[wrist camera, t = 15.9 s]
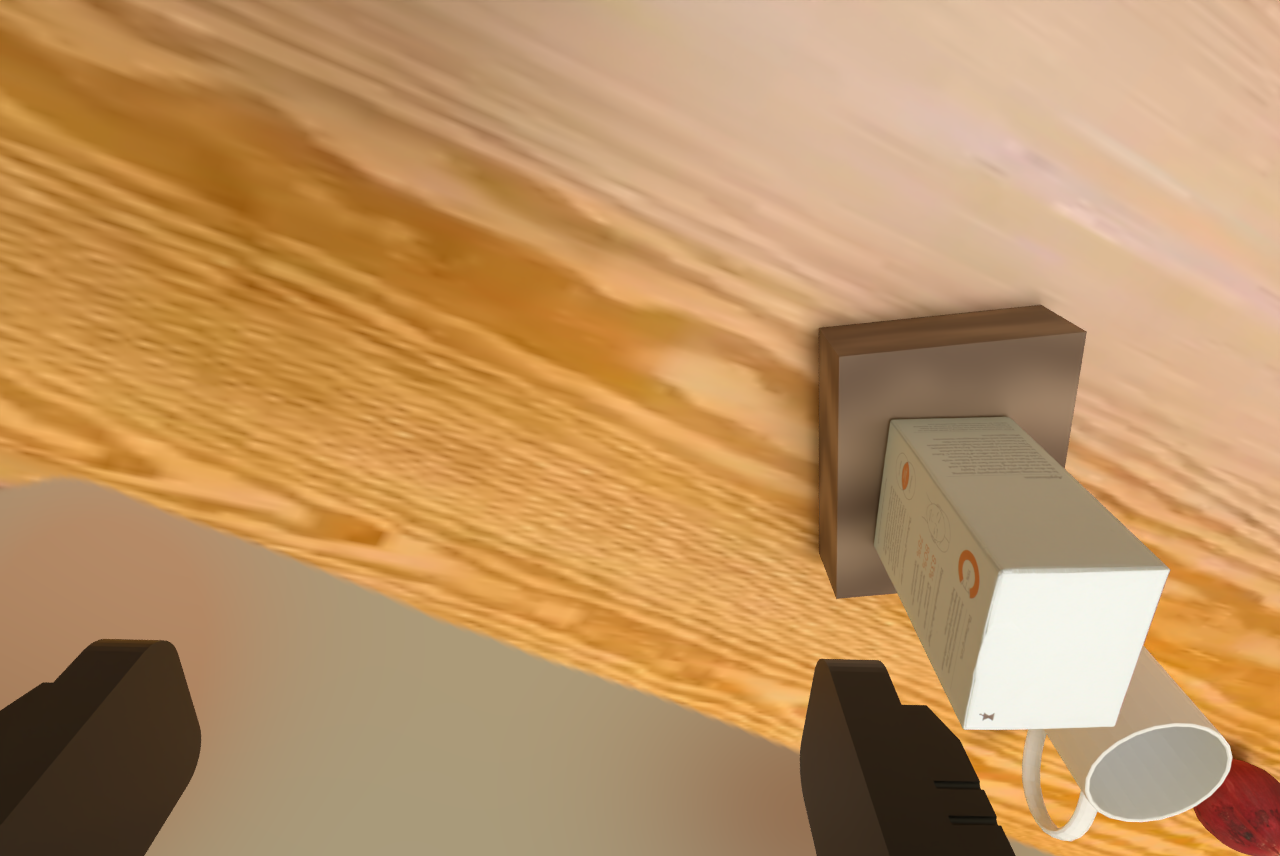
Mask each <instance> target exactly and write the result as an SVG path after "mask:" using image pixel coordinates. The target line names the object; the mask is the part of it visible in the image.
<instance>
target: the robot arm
mask: <svg viewBox="0 0 1280 856" xmlns="http://www.w3.org/2000/svg"><path fill="white" fill-rule="evenodd" d="M200 747H201V730H200V726H199V722H198V719H197V716H196V712H195V709H194V706H193V702H192V699H191V696H190V692H189V689H188V686H187V682H186V679H185V676H184V672H183V669H182V666H181V662H180V659H179V656H178V653H177V650H176V648H175V647H174V645H172V644H171V643H170V642H168V641H162V640H122V639H101V640H98V641H95V642H93V643H92V644H90V645H89V646H88V647H87V648H86V649H85V650H83V652H82V653H81V654H80V655H79V656H78V657H77V658H76V659H75V660H74V661H73V662H72V663H71V664H70V665H69V667H68V668H67V669H66V670H65V671H64V672H63V673H62V674H61V675H60V676H59V677H58V678H57V679H56V680H55V682H54V683H42V684H40V685H39V686H37V687H36V688H34V689H32V690H31V691H29V692H28V693H26V694H25V695H23V696H22V697H20V698H19V699H17V700H16V701H14V702H13V703H11V704H10V705H8V706H7V707H5V708H4V709H2V710H1V711H0V856H144V855H145V854H146V852H147V850H148V848H149V847H150V845H151V844H152V842H153V841H154V839H155V837H156V836H157V834H158V832H159V831H160V829H161V827H162V826H163V824H164V823H165V821H166V820H167V818H168V816H169V815H170V813H171V811H172V810H173V808H174V807H175V805H176V803H177V802H178V800H179V798H180V797H181V795H182V794H183V792H184V790H185V789H186V787H187V785H188V784H189V782H190V780H191V778H192V776H193V774H194V771H195V768H196V765H197V762H198V758H199V754H200ZM800 775H801V785H802V792H803V797H804V801H805V806H806V810H807V815H808V819H809V824H810V828H811V832H812V836H813V840H814V845H815V849H816V854H817V856H1015V854H1014V852H1013V849H1012V847H1011V845H1010V843H1009V841H1008V839H1007V837H1006V835H1005V833H1004V831H1003V829H1002V827H1001V826H998V824H997V821H996V817H997V816H996V814H995V812H994V810H993V808H992V806H991V804H990V802H989V800H988V798H987V795H986V793H985V791H984V790H981V789H980V781H979V779H978V777H977V775H976V773H975V771H974V769H973V766H972V764H971V762H970V760H969V758H968V756H967V754H966V752H965V750H964V748H963V746H962V744H961V742H960V740H959V739H958V738H957V737H956V736H955V735H954V734H953V733H952V732H951V731H950V730H949V728H948V727H947V726H946V725H945V724H944V723H943V722H942V721H941V720H940V719H939V718H938V717H937V716H936V715H935V714H934V713H933V712H932V711H931V710H930V709H929V708H928V707H927V706H926V705H901V702H900V700H899V698H898V695H897V693H896V691H895V688H894V686H893V683H892V681H891V679H890V676H889V674H888V672H887V669H886V667H885V666H884V664H883V663H882V662H881V661H878V660H843V659H820V660H819V661H818V662H817V665H816V667H815V672H814V677H813V682H812V688H811V693H810V698H809V704H808V709H807V714H806V720H805V725H804V730H803V736H802V741H801V749H800Z"/></svg>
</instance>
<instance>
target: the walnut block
mask: <svg viewBox="0 0 1280 856" xmlns="http://www.w3.org/2000/svg"><path fill="white" fill-rule="evenodd" d="M1086 333H1087V332H1086V331H1084V330H1083V329H1081V328H1079V327H1078V326H1076V325H1074V324H1073V323H1071V322H1069V321H1067V320H1066V319H1064V318H1062V317H1061V316H1059V315H1057V314H1056V313H1054V312H1052V311H1051V310H1049V309H1047V308H1045V307H1044V306H1042V305H1037V306H1027V307H1017V308H1008V309H998V310H988V311H979V312H969V313H959V314H949V315H940V316H930V317H920V318H911V319H901V320H891V321H881V322H872V323H862V324H852V325H843V326H833V327H823V328H819V554H820V556H821V559H822V562H823V564H824V567H825V570H826V572H827V575H828V578H829V580H830V583H831V585H832V588H833V591H834V593H835V596H836V599H838V598H849V597H861V596H872V595H883V594H895V593H897V591H896V589H895V587H894V585H893V583H892V581H891V579H890V577H889V575H888V573H887V571H886V569H885V567H884V565H883V563H882V561H881V559H880V557H879V555H878V553H877V551H876V549H875V547H874V539H875V531H876V523H877V515H878V507H879V500H880V492H881V485H882V478H883V470H884V463H885V455H886V448H887V441H888V434H889V427H890V422H891V420H898V419H931V418H981V417H1009V418H1011V419H1012V420H1014V421H1015V422H1016V423H1017V424H1018V425H1019V426H1020V427H1021V428H1022V429H1023V430H1024V431H1025V432H1026V433H1027V434H1028V435H1029V436H1030V437H1032V438H1033V439H1034V440H1035V441H1036V442H1037V443H1038V444H1039V445H1040V446H1041V447H1042V448H1043V449H1044V450H1045V451H1046V452H1047V453H1048V454H1049V455H1051V456H1052V457H1053V458H1054V459H1055V460H1056V461H1057V462H1058V463H1059V464H1060V465H1061V466H1062V467H1063V468H1064V469H1065V463H1066V456H1067V450H1068V444H1069V438H1070V432H1071V425H1072V419H1073V413H1074V407H1075V401H1076V394H1077V388H1078V382H1079V376H1080V370H1081V364H1082V357H1083V351H1084V345H1085V339H1086Z"/></svg>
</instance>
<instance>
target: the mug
mask: <svg viewBox="0 0 1280 856" xmlns="http://www.w3.org/2000/svg"><path fill="white" fill-rule="evenodd" d="M1046 734H1047V735H1048V737H1049V738H1050V740H1051V742H1052V743H1053V745H1054V747H1055V748H1056V750H1057V751H1058V753H1059V755H1060V756H1061V758H1062V760H1063V761H1064V763H1065V764H1066V766H1067V768H1068V769H1069V771H1070V773H1071V774H1072V776H1073V777H1074V779H1075V781H1076V782H1077V784H1078V785H1079V787H1080V789H1081V792H1080V797H1079V800H1078V804H1077V807H1076V809H1075V811H1074V814H1073V815H1072V817H1071V818H1070V820H1069V821H1068V822H1067V823H1066V824H1065V825H1064V826H1063V827H1061V828H1057V826H1056V825H1055V824H1054V823H1053V822H1052V820H1051V818H1050V816H1049V814H1048V812H1047V810H1046V807H1045V804H1044V801H1043V797H1042V791H1041V786H1040V765H1041V756H1042V750H1043V746H1044V741H1045V737H1046ZM1231 762H1232V753H1231V749H1230V745H1229V744H1228V743H1227V741H1226V740H1225V739H1224V737H1223V736H1222V735H1221V734H1220V733H1219V731H1218V730H1217V729H1216V728H1215V727H1214V726H1213V725H1212V723H1211V722H1210V721H1209V720H1208V719H1207V718H1206V717H1205V715H1204V714H1203V713H1202V712H1201V711H1200V710H1199V709H1198V707H1197V706H1196V705H1195V704H1194V703H1193V702H1192V701H1191V699H1190V698H1189V697H1188V696H1187V695H1186V694H1185V693H1184V691H1183V690H1182V689H1181V688H1180V687H1179V686H1178V685H1177V683H1176V682H1175V681H1174V680H1173V679H1172V678H1171V677H1170V675H1169V674H1168V673H1167V672H1166V671H1165V670H1164V669H1163V667H1162V666H1161V665H1160V664H1159V663H1158V662H1157V661H1156V659H1155V658H1154V657H1153V656H1152V655H1151V654H1150V653H1149V651H1148V650H1147V649H1146V648H1145V647H1144V646H1143V648H1142V651H1141V654H1140V656H1139V659H1138V662H1137V665H1136V668H1135V671H1134V674H1133V677H1132V680H1131V682H1130V685H1129V688H1128V691H1127V694H1126V697H1125V700H1124V702H1123V705H1122V708H1121V711H1120V714H1119V717H1118V720H1117V723H1116V725H1115V726H1113V727H1088V728H1054V729H1028V732H1027V736H1026V741H1025V745H1024V752H1023V760H1022V782H1023V788H1024V793H1025V798H1026V800H1027V803H1028V806H1029V809H1030V811H1031V813H1032V815H1033V817H1034V819H1035V821H1036V822H1037V824H1038V825H1039V826H1040V827H1041V829H1042V830H1043V831H1044V832H1045V833H1047V834H1049V835H1050V836H1052V837H1054V838H1057V839H1060V840H1065V841H1072V840H1075V839H1078V838H1080V837H1082V836H1083V835H1084V834H1085V833H1086V832H1087V831H1088V829H1089V827H1090V826H1091V824H1092V823H1093V820H1094V818H1095V816H1096V813H1097V811H1098V812H1100V813H1101V814H1103V815H1105V816H1107V817H1109V818H1113V819H1117V820H1121V821H1128V822H1146V821H1154V820H1161V819H1164V818H1168V817H1171V816H1174V815H1178V814H1180V813H1182V812H1185V811H1187V810H1189V809H1191V808H1193V807H1195V806H1197V805H1198V804H1200V803H1201V802H1203V801H1204V800H1205V799H1207V798H1208V797H1210V796H1211V795H1212V794H1213V793H1214V792H1215V791H1216V790H1217V789H1218V788H1219V787H1220V786H1221V785H1222V783H1223V782H1224V780H1225V778H1226V776H1227V775H1228V773H1229V771H1230V768H1231Z"/></svg>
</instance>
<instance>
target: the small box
mask: <svg viewBox="0 0 1280 856" xmlns="http://www.w3.org/2000/svg"><path fill="white" fill-rule="evenodd" d="M874 547H875V549H876V551H877V553H878V555H879V557H880V559H881V561H882V563H883V565H884V567H885V569H886V571H887V573H888V575H889V577H890V579H891V581H892V583H893V585H894V587H895V589H896V591H897V593H898V595H899V597H900V599H901V601H902V603H903V606H904V608H905V610H906V612H907V614H908V616H909V618H910V620H911V622H912V624H913V627H914V629H915V631H916V633H917V635H918V637H919V639H920V641H921V643H922V645H923V647H924V650H925V652H926V654H927V656H928V658H929V660H930V662H931V664H932V666H933V668H934V670H935V672H936V674H937V676H938V678H939V680H940V682H941V685H942V687H943V689H944V691H945V693H946V695H947V697H948V699H949V701H950V703H951V705H952V707H953V709H954V711H955V713H956V715H957V717H958V719H959V721H960V724H961V726H962V728H963V729H964V730H968V729H975V730H1014V729H1054V728H1088V727H1113V726H1115V725H1116V723H1117V720H1118V717H1119V714H1120V711H1121V708H1122V705H1123V702H1124V700H1125V697H1126V694H1127V691H1128V688H1129V685H1130V682H1131V680H1132V677H1133V674H1134V671H1135V668H1136V665H1137V662H1138V659H1139V656H1140V654H1141V651H1142V648H1143V645H1144V642H1145V639H1146V636H1147V633H1148V630H1149V628H1150V625H1151V622H1152V619H1153V617H1154V614H1155V611H1156V608H1157V605H1158V602H1159V600H1160V597H1161V594H1162V591H1163V588H1164V586H1165V583H1166V580H1167V577H1168V574H1169V572H1170V569H1169V568H1168V567H1167V566H1166V565H1165V564H1164V563H1163V562H1162V561H1161V560H1160V559H1159V558H1158V557H1156V556H1155V555H1154V554H1153V553H1152V552H1151V551H1150V550H1149V549H1148V548H1147V547H1146V546H1145V545H1144V544H1143V543H1142V542H1141V541H1140V540H1139V539H1138V538H1137V537H1136V536H1135V535H1133V534H1132V533H1131V532H1130V531H1129V530H1128V529H1127V528H1126V527H1125V526H1124V525H1123V524H1122V523H1121V522H1120V521H1119V520H1118V519H1117V518H1116V517H1114V516H1113V515H1112V514H1111V513H1110V512H1109V511H1108V510H1107V509H1106V508H1105V507H1104V506H1103V505H1102V504H1101V503H1100V502H1099V501H1098V500H1097V499H1096V498H1095V497H1094V496H1093V495H1091V494H1090V493H1089V492H1088V491H1087V490H1086V489H1085V488H1084V487H1083V486H1082V485H1081V484H1080V483H1079V482H1078V481H1077V480H1076V479H1075V478H1074V477H1073V476H1072V475H1070V474H1069V473H1068V472H1067V471H1066V470H1065V469H1064V468H1063V467H1062V466H1061V465H1060V464H1059V463H1058V462H1057V461H1056V460H1055V459H1054V458H1053V457H1052V456H1051V455H1049V454H1048V453H1047V452H1046V451H1045V450H1044V449H1043V448H1042V447H1041V446H1040V445H1039V444H1038V443H1037V442H1036V441H1035V440H1034V439H1033V438H1032V437H1030V436H1029V435H1028V434H1027V433H1026V432H1025V431H1024V430H1023V429H1022V428H1021V427H1020V426H1019V425H1018V424H1017V423H1016V422H1015V421H1014V420H1012V419H1011V418H1009V417H981V418H931V419H898V420H891V422H890V427H889V434H888V441H887V448H886V455H885V463H884V470H883V478H882V485H881V492H880V500H879V507H878V515H877V523H876V531H875V539H874Z"/></svg>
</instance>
